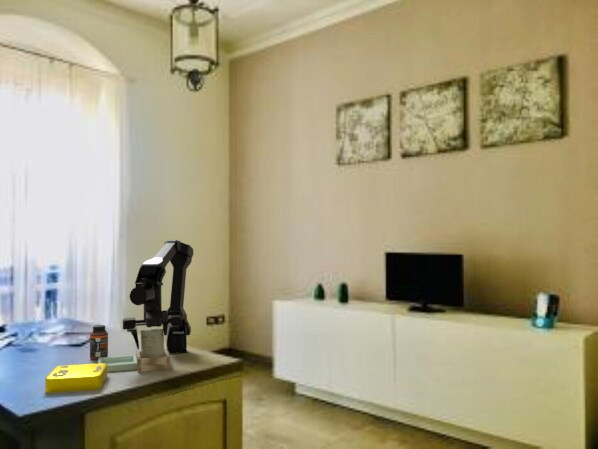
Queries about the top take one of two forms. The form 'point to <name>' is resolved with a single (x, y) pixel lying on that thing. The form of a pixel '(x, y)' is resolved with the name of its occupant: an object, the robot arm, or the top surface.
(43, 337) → the top surface
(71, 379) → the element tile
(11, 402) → the top surface
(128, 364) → the tray
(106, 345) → the supplement bottle
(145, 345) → the skincare box
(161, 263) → the robot arm
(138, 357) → the frame
